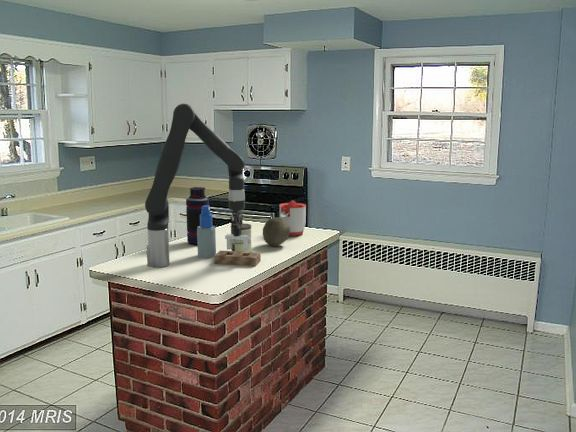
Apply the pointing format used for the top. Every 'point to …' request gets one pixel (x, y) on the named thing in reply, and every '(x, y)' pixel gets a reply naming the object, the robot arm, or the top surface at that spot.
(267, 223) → the cantaloupe
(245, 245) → the clip
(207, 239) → the spray bottle
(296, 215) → the citrus juicer
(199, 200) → the dark navy bottle
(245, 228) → the coffee can
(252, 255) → the wooden block with holes
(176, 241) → the top surface
